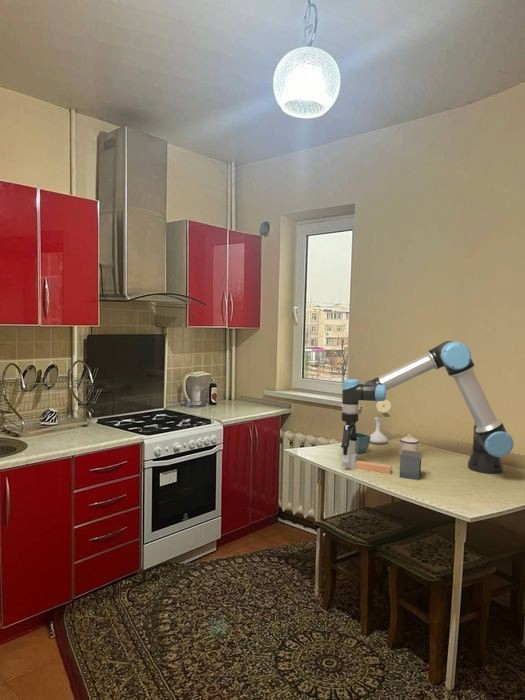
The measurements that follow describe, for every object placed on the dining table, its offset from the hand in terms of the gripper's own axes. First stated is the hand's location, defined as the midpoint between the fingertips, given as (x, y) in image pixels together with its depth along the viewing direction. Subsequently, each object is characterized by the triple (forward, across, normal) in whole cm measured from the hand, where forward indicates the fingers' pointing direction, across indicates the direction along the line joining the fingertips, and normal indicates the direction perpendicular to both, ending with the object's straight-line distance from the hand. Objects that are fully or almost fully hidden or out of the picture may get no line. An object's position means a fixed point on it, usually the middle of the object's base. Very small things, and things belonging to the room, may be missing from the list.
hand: (348, 458), depth 234 cm
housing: (+4, 0, +28) cm, 28 cm away
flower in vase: (+5, -54, +5) cm, 54 cm away
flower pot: (+4, -28, -1) cm, 28 cm away
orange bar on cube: (+4, 0, +8) cm, 9 cm away
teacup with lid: (+5, -32, +23) cm, 39 cm away
